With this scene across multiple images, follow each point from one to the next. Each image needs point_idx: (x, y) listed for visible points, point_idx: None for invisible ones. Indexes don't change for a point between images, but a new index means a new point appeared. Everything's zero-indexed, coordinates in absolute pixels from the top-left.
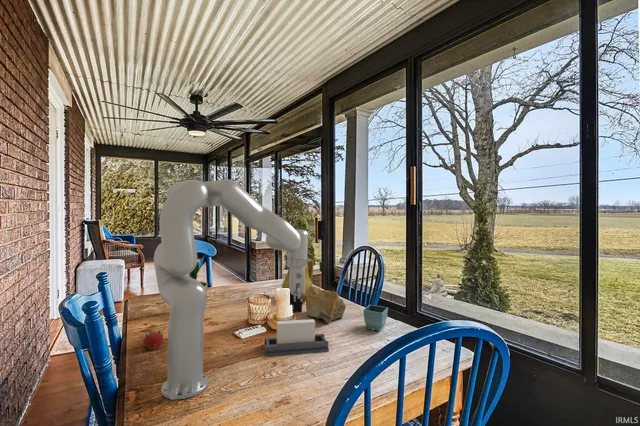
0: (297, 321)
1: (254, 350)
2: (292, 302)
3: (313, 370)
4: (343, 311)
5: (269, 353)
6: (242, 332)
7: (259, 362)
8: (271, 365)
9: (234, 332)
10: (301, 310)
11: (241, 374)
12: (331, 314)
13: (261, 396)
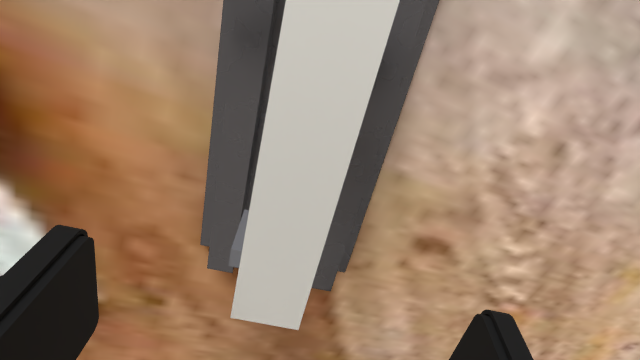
0: (295, 177)
1: None
2: (77, 327)
3: (625, 106)
4: None
5: (349, 257)
6: None
7: (386, 292)
8: (440, 261)
9: None
10: (515, 336)
11: (444, 355)
12: None
13: (627, 337)
